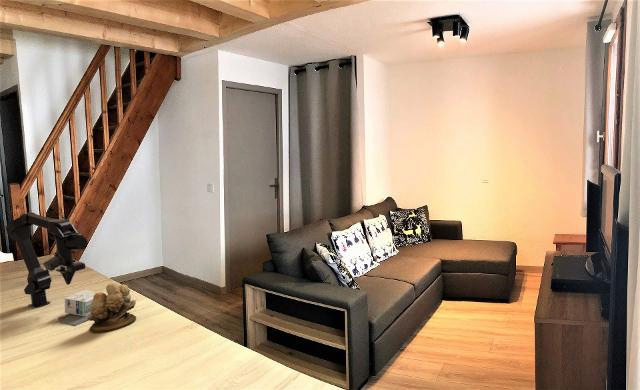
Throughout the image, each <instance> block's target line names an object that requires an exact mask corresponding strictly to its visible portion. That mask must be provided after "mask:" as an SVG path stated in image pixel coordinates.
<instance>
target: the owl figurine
mask: <svg viewBox="0 0 640 390" xmlns="http://www.w3.org/2000/svg"><path fill="white" fill-rule="evenodd" d="M105 289H106V290H105V291H106V293H107V294H106V293H105V292H102V291H98V293H96V294H95V295H94V297H93V301H92V302H91V308H90V310H91V311H90V313H91V314H92V315H90V316H89V317H88V322H89V321H90V322H92V321H93V322H92V324H91V326H90V327H89V332H90V333H92V334H104V333H108V332H113V331H118V330H120V329H123V328H126V327H128V326H131V325H132V324H134V323H135V322H136V320H137V316H136V315H134V314H133V313H131V312H128V311H131V310H132V309H134V308H135V305H136V302H137V300H135V299H133V300H131V299H132V295H131V294H130V293H131V291H130V288H129V285H127V284H120V285H118V284H117V283H115V282H110V283H108V284H107V285H106V287H105Z"/></svg>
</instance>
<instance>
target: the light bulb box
mask: <svg viewBox="0 0 640 390" xmlns="http://www.w3.org/2000/svg"><path fill="white" fill-rule="evenodd" d="M98 292H99V291H98ZM98 292H97V291H92V290H87V289H86V290H85V289H83V290H81V291H78V292H75V293H73V294H70V295H69V296H67V297H64V313H65V314H74V315H80V316H85V317H87V316H88V315H90V314H91V313H90V311H91V310H90V308H91V302H92V301H93V297H94V295H95V294H96V293H98Z"/></svg>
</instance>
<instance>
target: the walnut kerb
mask: <svg viewBox="0 0 640 390" xmlns="http://www.w3.org/2000/svg"><path fill="white" fill-rule="evenodd" d="M71 315H74V314H69V313H66V314H64V315H62V316H59V317H57V321H58V320H61V319H64V318H66V317H69V316H71Z"/></svg>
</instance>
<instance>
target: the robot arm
mask: <svg viewBox="0 0 640 390" xmlns="http://www.w3.org/2000/svg"><path fill="white" fill-rule="evenodd" d="M32 226H36V227H39V228H43V229H46V230H48V232H49V233H50V234H52V235H53V236H52V237H51V238H50V239H51V240H55V248H56V252H54V253H53V254H54V256H53V257H51V258H49V259H48V260H46V261H44V262H43V263H42V264H43V267H42V266H41V264H40V262H39V259H38V256H37V253H36V252H35V248H34V246H33V244H32V242H31V240H30V236H31V233H32V232H31V227H32ZM5 231H6V234H7V235H8V236H9V238H10V239H11V240H13V241H14V242H16V244H17V247H18V249H19V251H20V254H21V256H22V259H23V262H24V264H25V266H26V269H27V271H28V273H27V278H26V280H27V285H25V287H24V289H23V292H24V294H25V295H29V296H30V301H31V303H30V304H28V305H27V306H28V307H31V308H40V307H42V306H46V305H48V304H51V301H48V299H47V292H46V290H50V288H51V285H52V284H51V283H52V276H51V274H50V272H53V271H56V272H58V273H60V274H61V276H62V277H63V280H64V281H65V282H64V283H65V284H66V285H67V286H68V285H71V283H72V280H73V278H74V276H75V273H76V272H78V271H82V270H85V269H86V268H87V267H86V263H85V262H82V261H76V259H74V257H73V254H74V253H76V252H75V251H83V250H85V249H87V247H88V239H87V238H86V237H85V236H83V233H79V232H78V231H77V229H76V228H75V226H74V225H73V224H72V222H71V220H69V219H67V218H66V219H64V218H59V219H57V218H51V217H47V216H43V215H40V214H37V213H35V212H31V211H30V212H26V213H23V214H21V215H20V216H19V217H17V218H15V219H13V220H11V221H10V222H8V223H7V224H6V226H5ZM49 271H50V272H49Z"/></svg>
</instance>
